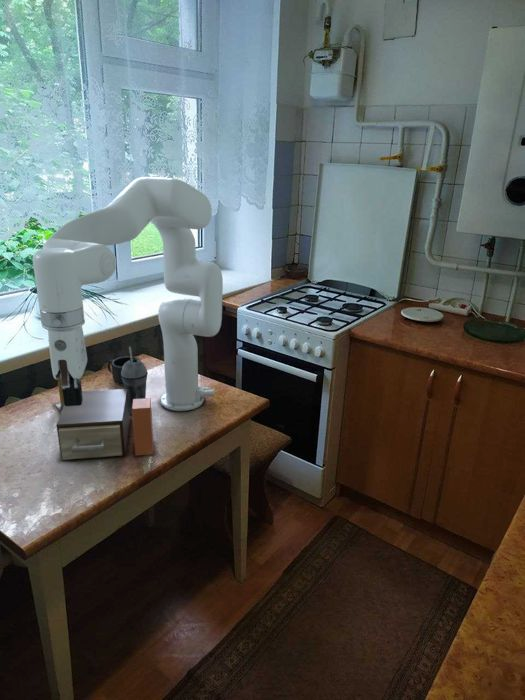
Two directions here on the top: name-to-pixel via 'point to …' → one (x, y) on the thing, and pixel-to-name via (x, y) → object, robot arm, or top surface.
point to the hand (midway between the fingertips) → (73, 403)
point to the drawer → (90, 441)
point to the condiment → (60, 405)
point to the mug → (119, 368)
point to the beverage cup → (134, 379)
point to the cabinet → (98, 413)
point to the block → (142, 426)
